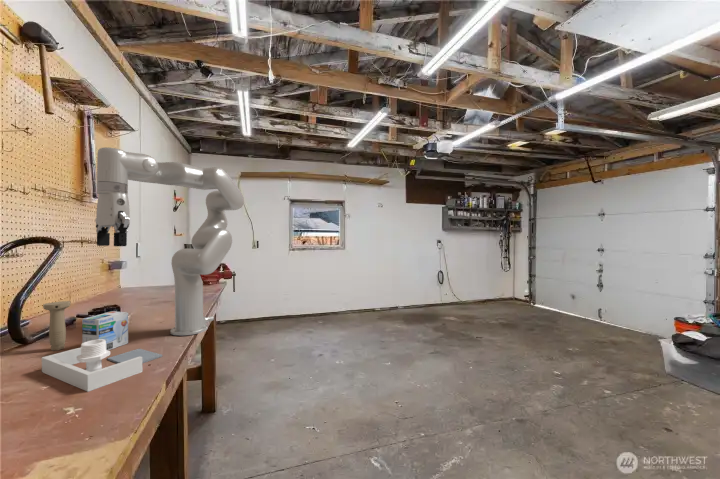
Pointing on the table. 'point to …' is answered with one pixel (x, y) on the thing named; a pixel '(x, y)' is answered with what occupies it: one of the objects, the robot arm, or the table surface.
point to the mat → (133, 354)
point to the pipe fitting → (93, 354)
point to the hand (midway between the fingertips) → (111, 245)
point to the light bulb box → (106, 328)
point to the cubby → (83, 379)
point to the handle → (57, 324)
